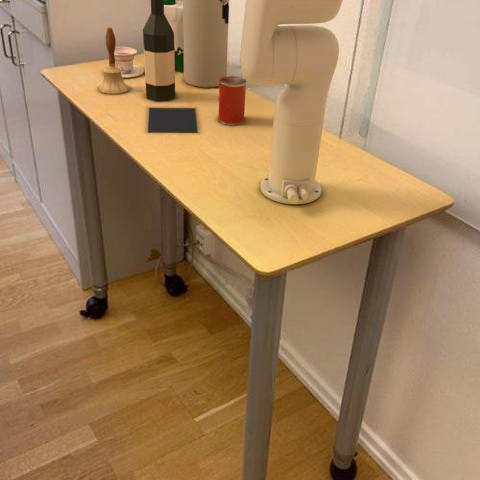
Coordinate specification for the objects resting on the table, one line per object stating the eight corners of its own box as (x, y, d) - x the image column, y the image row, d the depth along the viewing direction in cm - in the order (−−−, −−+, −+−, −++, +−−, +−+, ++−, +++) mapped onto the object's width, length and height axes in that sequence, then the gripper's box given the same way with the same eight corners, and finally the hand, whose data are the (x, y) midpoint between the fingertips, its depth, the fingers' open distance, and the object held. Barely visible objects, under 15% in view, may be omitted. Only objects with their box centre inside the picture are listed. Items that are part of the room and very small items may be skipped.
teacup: (152, 71, 177) (151, 50, 173) (126, 81, 169) (124, 59, 165) (122, 63, 181) (120, 42, 177) (95, 73, 173) (92, 51, 169)
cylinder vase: (190, 72, 178) (189, -21, 162) (230, 77, 176) (233, -16, 160) (178, 85, 168) (177, -12, 152) (220, 90, 167) (223, -7, 151)
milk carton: (167, 62, 184) (165, -9, 172) (195, 65, 183) (194, -6, 171) (158, 70, 178) (155, -3, 165) (187, 74, 177) (186, 0, 164)
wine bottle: (181, 98, 160) (179, -26, 141) (154, 103, 156) (148, -24, 137) (166, 89, 165) (163, -32, 146) (140, 93, 161) (132, -30, 142)
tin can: (245, 125, 147) (247, 85, 141) (219, 125, 147) (220, 85, 140) (242, 115, 153) (244, 76, 146) (217, 115, 152) (218, 76, 146)
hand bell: (126, 83, 167) (121, 23, 157) (131, 93, 161) (127, 31, 151) (96, 85, 165) (90, 24, 155) (101, 95, 159) (94, 32, 149)
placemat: (197, 132, 143) (197, 132, 142) (147, 132, 141) (147, 132, 141) (194, 108, 155) (194, 108, 155) (149, 108, 154) (149, 107, 153)
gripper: (212, -62, 123) (211, 26, 134) (293, -58, 125) (285, 28, 136) (210, -67, 129) (209, 17, 140) (287, -63, 131) (280, 20, 142)
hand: (246, 23), depth 138 cm, fingers open, 9 cm apart
